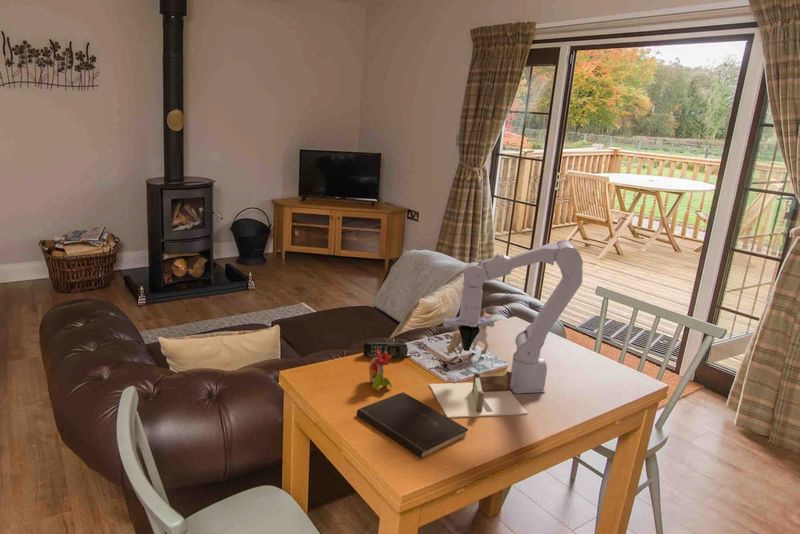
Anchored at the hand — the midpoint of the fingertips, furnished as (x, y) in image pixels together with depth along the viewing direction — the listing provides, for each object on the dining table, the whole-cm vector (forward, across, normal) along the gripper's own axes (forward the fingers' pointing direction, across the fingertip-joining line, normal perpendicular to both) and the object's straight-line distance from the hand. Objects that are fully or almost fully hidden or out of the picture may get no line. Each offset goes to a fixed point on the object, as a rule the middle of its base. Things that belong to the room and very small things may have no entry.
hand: (466, 349), depth 168 cm
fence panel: (+9, -1, -14) cm, 17 cm away
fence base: (+9, +6, -8) cm, 13 cm away
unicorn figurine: (+10, +7, +18) cm, 22 cm away
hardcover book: (+10, -21, -23) cm, 33 cm away
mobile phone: (+10, -19, +17) cm, 28 cm away
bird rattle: (+10, -26, -2) cm, 28 cm away
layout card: (+9, 0, -12) cm, 15 cm away
